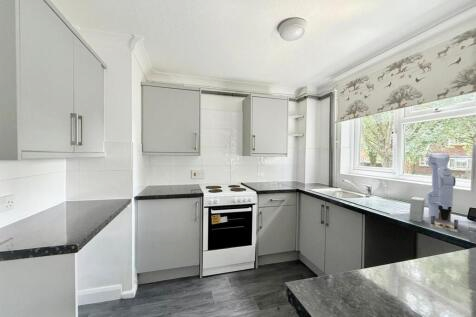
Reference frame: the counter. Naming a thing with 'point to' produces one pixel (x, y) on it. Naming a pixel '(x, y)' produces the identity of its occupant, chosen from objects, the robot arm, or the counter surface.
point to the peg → (444, 226)
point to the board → (446, 227)
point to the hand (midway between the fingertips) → (444, 218)
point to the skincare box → (417, 209)
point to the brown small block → (445, 220)
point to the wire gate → (446, 225)
